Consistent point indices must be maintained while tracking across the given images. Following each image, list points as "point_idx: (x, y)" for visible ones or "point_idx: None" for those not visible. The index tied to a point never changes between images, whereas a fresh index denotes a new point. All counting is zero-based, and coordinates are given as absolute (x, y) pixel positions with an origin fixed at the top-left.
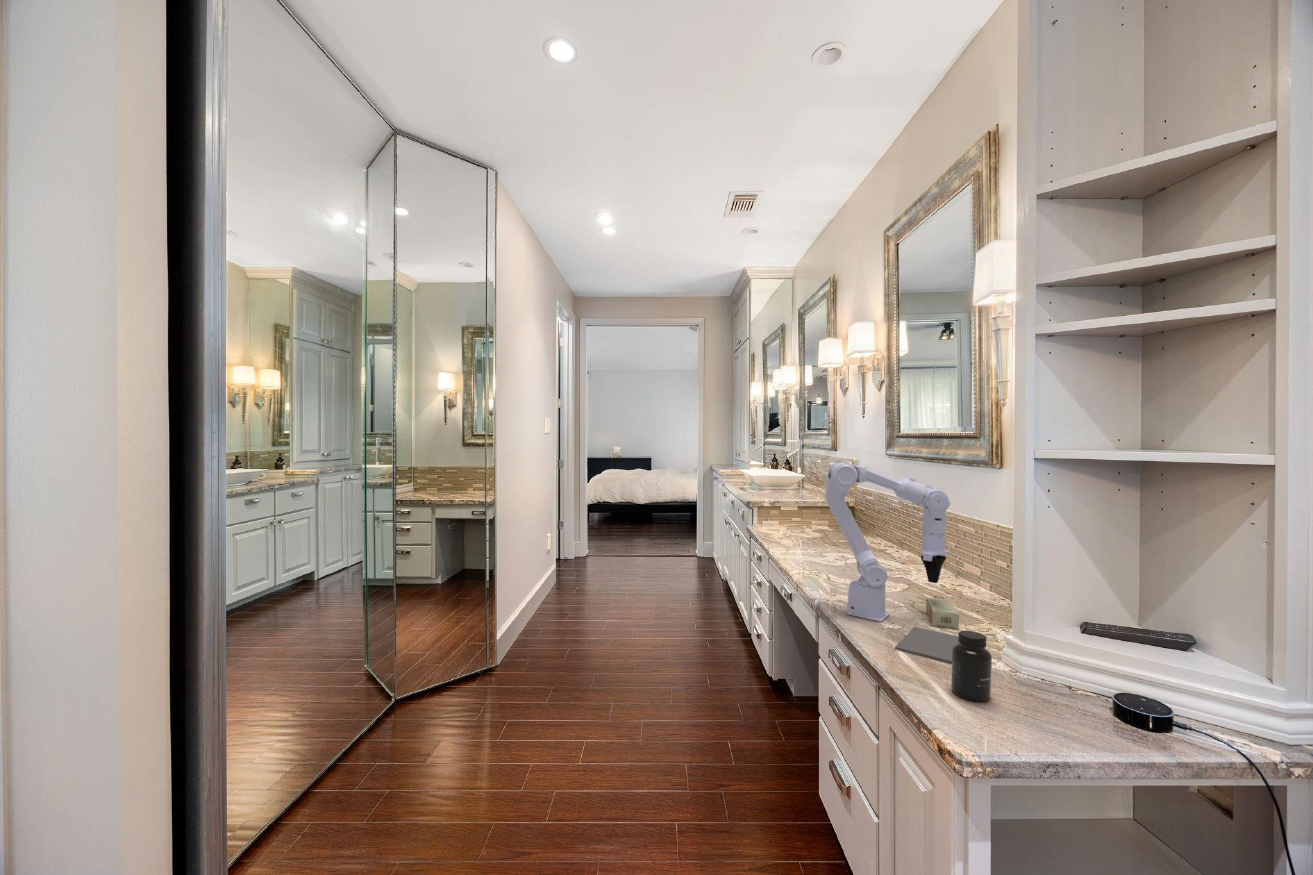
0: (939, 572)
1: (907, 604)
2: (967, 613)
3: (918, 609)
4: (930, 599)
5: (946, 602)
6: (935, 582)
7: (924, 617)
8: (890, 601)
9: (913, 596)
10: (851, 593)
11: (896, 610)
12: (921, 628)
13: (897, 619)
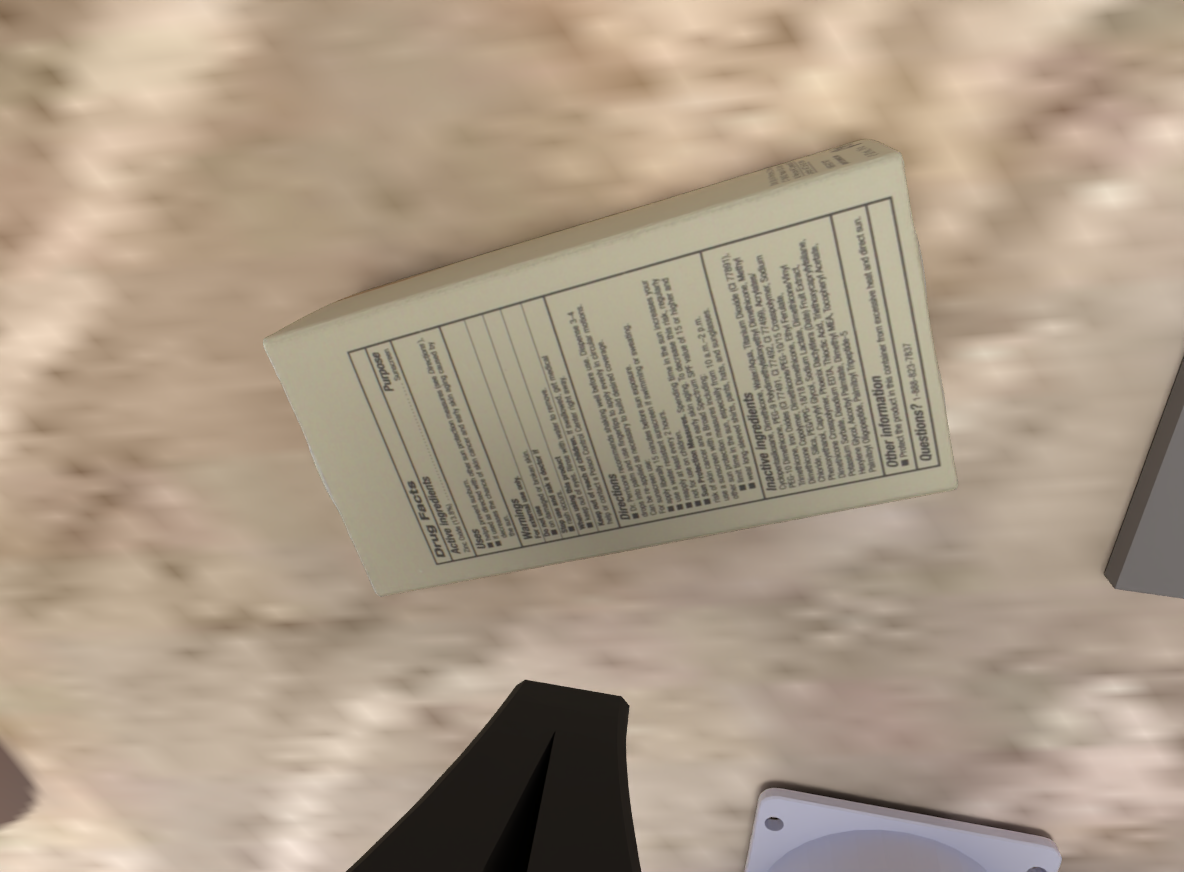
0: (494, 858)
1: (332, 666)
2: (172, 113)
3: None
4: (440, 554)
5: (438, 368)
6: (627, 722)
7: None
8: (353, 787)
9: (57, 635)
10: None
11: None
12: (1155, 519)
13: (864, 720)
